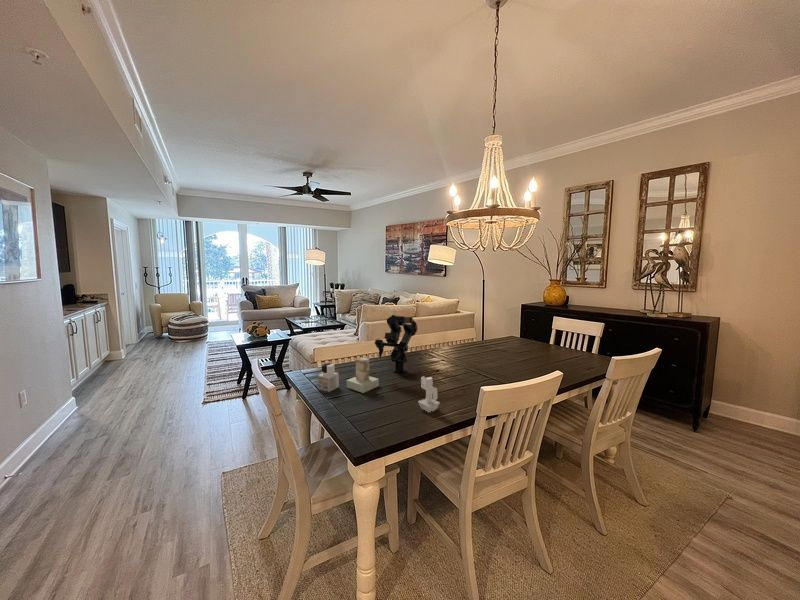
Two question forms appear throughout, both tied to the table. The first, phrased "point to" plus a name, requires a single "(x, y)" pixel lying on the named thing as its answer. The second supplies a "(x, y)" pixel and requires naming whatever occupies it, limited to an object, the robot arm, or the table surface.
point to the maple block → (362, 369)
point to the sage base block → (362, 384)
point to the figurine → (429, 395)
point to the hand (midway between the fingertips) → (387, 358)
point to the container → (328, 378)
